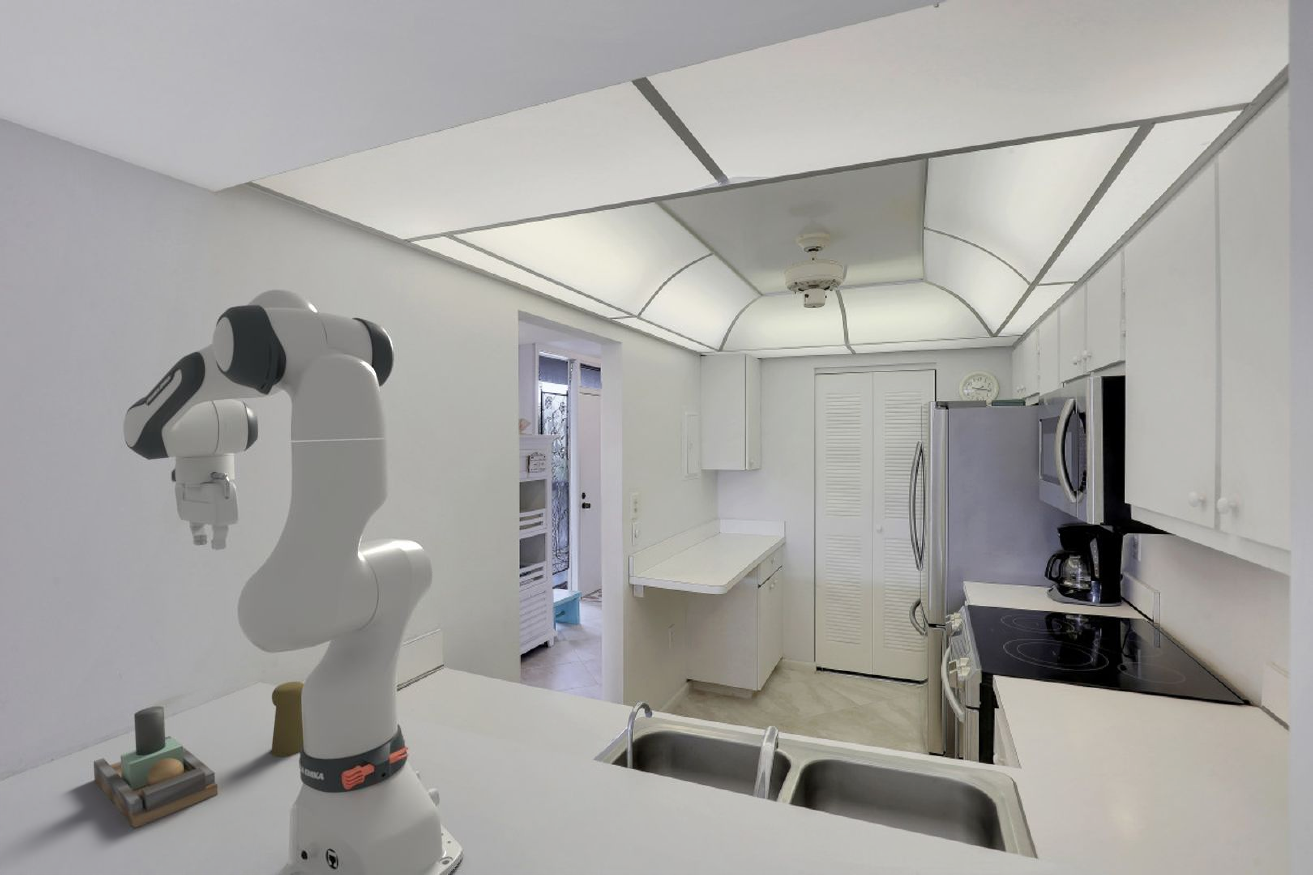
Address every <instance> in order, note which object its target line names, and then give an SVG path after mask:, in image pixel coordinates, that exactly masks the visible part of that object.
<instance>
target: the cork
mask: <svg viewBox="0 0 1313 875" xmlns="http://www.w3.org/2000/svg"><path fill="white" fill-rule="evenodd" d="M303 686H304V683H303V682H301V681H289V682H285V683H282V684H280V685H278V686H277V687H275V688H274V689H273V690H272V694H271V701H272V705H274V706H275V713H274V721H273V722H274V724H273V732H272V742H271V743H272V744H271V755H272V756H276V757H286V756H292V755H295V754H298V753H299V754H300V750H301V747H302V746H303V722H302V699H301V695H302V689H303Z"/></svg>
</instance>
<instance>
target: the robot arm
mask: <svg viewBox="0 0 1313 875" xmlns="http://www.w3.org/2000/svg"><path fill="white" fill-rule="evenodd" d="M211 342H212V343H211V344H208V345H207V346H205V347H204V348H201V349H199V350H197V351H194V352H192V353H189V354H187V355H185V356H183V357H182V358H180V359H179V360H178V361H177V362H176V363H175V364H174V365H173V366H172V367H171V368H170V370H169V371H168V372H167V373H166V374H164V376H163V377H162V378H161V379H160V380H159V381H158V383H157V384H156V385H155V386H154V387H153V388H152V389H151V391H149V392H148V393H147V395H145V396H144V397H142V398H140V399H139V400H138V401H136V402H135V403H133V404H132V405H131V406H130V407H129V408H128V409H127V411H126V414H125V416H124V419H123V420H124V421H123V426H122V428H123V436H124V441H125V444H126V446H127V447H128V449H131V451H132V452H134V453H136V454H137V455H138V456H140V457H142V458H144V459H147V460H148V461H151V460H158V459H159V460H160V459H166V458H167V459H168V458H173V457H175V458H174V459H175V467H174V468H173V469H172V470H171V471H170V481H171V482H172V483H175V484H174V494H175V501H176V509H177V510H176V511H177V514H178V516H179V519H180V520H182V521H186V522H189V529H190V531H191V534H192V541H193V543H192V544H194V546H204V545H207V543H208V536H207V535H208V534H206V530H205V526H206V525H210V526H211V531H212V532H213V533H212V534H213V535H212V539H211V540H210V541H211V542H210V543H211V549H213V550H215V551H218V550H219V551H220V550H225V549H226V547H227V544H226V543H227V536H228V532H229V526H231V525H236V524H238V523H239V520H240V510H239V499H238V492H237V487H236V485H235V483H234V482H232V481H234V480H235V479H236V473H235V456H234V454H237V453H241V452H245V451H247V450H248V449H250V448H251V447H252V446H253V445H254V444H255V442H257V440H258V437H259V426H258V425H259V423H258V415H257V412H256V411H255V410H254V409H253V408H252V407H251V406H250V405H248V404H247V403H245V402H244V401H239V400H236V399H255V398H264V397H269V396H272V395H275V394H278V393H280V392H281V391H284V392H286V393H287V394H288V396H289V398H290V400H291V401H290V402H291V415H290V416H291V417H290V419H291V420H290V423H291V424H290V441H292V442H291V443H290V445H291V446H290V447H291V450H290V451H291V492H290V493H291V497H290V503H289V509H288V510H289V511H288V515H287V518H286V522H285V524H284V527H283V529H282V532H281V534H280V536H279V539H278V540H277V543H276V545H275V547H274V548H273V551H272V552H271V553H270V555H269V556H268V558H267V559H266V560H265V561H264V563H263V564H262V565H261V566H260V567H259V569H257V571H255V573H254V574H252V575H251V576H250V577H249V578H248V579H247V581H246V582H245V583H244V586H243V587H242V590H241V592H240V595H239V597H238V602H237V618H238V623H239V626H240V628H241V629H240V630H242V633H243V634H244V636H245V637H246V638H247V640H248V641H249V642H250V643H251V644H252V645H253V646H255V647H256V648H258V649H259V650H261V651H264V652H266V653H268V654H269V653H270V654H271V653H272V654H273V653H274V654H275V653H282V652H292V651H297V650H303V649H309V648H315V647H317V646H319V645H322V644H324V643H327V642H329V641H330V642H329V643H328V646H327V649H326V651H325V653H324V655H323V657H321V660H320V661H319V662H318V664H317V665H316V666H315V667H314V668H313V669H312V671H310V673H309V675H307V678H306V679H305V681H304V683H303V684H304V686H303V689H302V695H301V699H302V722H303V746H302V747H301V750H300V752H299V760H298V768H299V771H300V776H299V777H300V780H301V782H302V784H301V788H300V790H299V793H298V796H297V797H296V799H295V801H294V803H293V804H292V807H291V808H290V812H289V831H288V832H289V835H288V863H287V865H286V866H284V868H283V869H282V870H281V871H280V872H279V873H278V875H447V874H449V873H450V872H451V871H452V870H453V869H454V870H455V869H456V868H457V867H456V866H458V865H459V864H460V863H459V862H461V861H462V859H463V857H464V851H463V847H462V846H461V845H460V843H459V842H458V841H457V840H456V839H455V838H454V836H452V835H451V833H449V831H448V830H447V829H446V828H445V827H444V826H443V825H442V824H441V819H440V818H441V817H440V813H439V810H438V808H437V807H438V806H439V805H440V794H439V792H438V790H437V788H435V787H431V788H429V789H427V790H426V788H425V787H424V785H423V783H422V782H421V774H420V772H419V771H418V770H415V771H414V770H413V768H412V767H411V765H410V763H409V761H407V760H408V756H409V754H408V752H407V751H408V750H409V747H408V746H406V745H405V744H406V739H405V737H404V735H403V732H402V729H401V726H400V724H399V723H398V685H397V684H398V670H399V669H398V668H399V661H400V656H401V652H402V649H403V645H404V641H405V638H406V634H407V631H408V628H409V625H410V624H411V620H412V618H413V616H414V614H415V612H416V610H417V608H418V606H419V605H420V604H421V602H422V600H424V598H425V597H426V596H427V594H428V592H429V590H430V588H431V584H432V582H433V567H432V563H431V560H430V558H429V556H428V554H427V552H426V551H425V549H424V548H423V547H422V546H421V545H420V544H419V543H417V542H415V541H413V540H411V539H404V538H403V539H401V538H376V539H372V540H367V541H363V542H361V540H362V537H363V533H364V530H365V528H366V526H367V524H368V522H369V521H370V519H371V518H372V517H373V515H375V513H376V512H377V511H378V510H379V509H380V508H381V507H382V506H383V504H384V503H385V501H386V500H387V497H388V494H389V476H388V475H389V474H388V448H387V446H388V445H387V428H386V427H387V425H386V418H385V417H386V416H385V410H384V409H385V408H384V402H383V397H382V393H381V387H382V386H383V385H384V384H385V383H386V382H387V380H388V379H389V377H390V375H391V373H392V370H393V368H394V361H395V354H394V353H395V352H394V346H393V342H392V340H391V337H390V336H389V335H388V333H387V331H386V329H385V328H384V327H382V326H381V325H379V324H377V323H376V322H372V321H370V320H367V319H363V318H360V317H352V318H350V317H346V316H341V315H336V314H332V313H325V312H321V311H320V312H319V311H317V309H316V308H315V306H314V305H313V304H312V303H311V302H310V301H309V300H307V299H306V298H305V297H304V296H302V295H300V294H298V293H296V292H294V291H291V290H286V289H270V290H266V291H264V292H262V293H259V294H258V295H257V296H255V297H254V298H252V300H251V301H250V302H248V304H246V305H245V304H244V305H237V306H232V307H229V308H227V309H226V310H225V311H224V312H223V313H222V314H221V315H220V316H219V318H218V319H217V321H216V324H215V329H214V332H213V335H212V341H211ZM460 860H461V861H460ZM458 863H459V864H458ZM457 864H458V865H457ZM455 867H456V868H455ZM454 870H453V871H454ZM453 871H452V872H453ZM452 872H451V873H452ZM451 873H450V874H451ZM450 874H449V875H450Z"/></svg>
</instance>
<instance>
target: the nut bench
mask: <svg viewBox="0 0 1313 875" xmlns="http://www.w3.org/2000/svg"><path fill="white" fill-rule="evenodd" d="M169 738H173V737H171V735H169V736H168V735H167V736H165V740H166V739H169ZM183 762H184V773H183V774H181V775H178V776H176V777H173V778H170V779H168V780H165V781H162V782H160V783H157V784H155V785H152V786H148V785H145V786H143V787H140V788H137V789H135V790H132V789H131V788H130V787H129V785H128V784H127V783H126V782H125V781H124V780H123V779H122V776H121V761H118V762H115V763H112V764H109V762H108V761H107V760H106V759H105V758H99V759H96V760H93V776H94V781H95V782H96V783H97V785H98V786H99V787H100V789H102V791H103V792H104V793H105V795H106V796H107V797H108V798H109V799H110V800H111V801H112V803H113V804H114V805H115V806H116V808H117V809H118V810H119V811H120V812H121V814H122V815H123V816H124V818H125V819H126V820H127V821H128V823H129V824H130V825H131V826H132V827H133V829H137V828H139V827H141V826H145V825H146V824H149V823H150V822H154V821H156V820H158V819H161V818H163V817H165V816H168V815H171V814H172V813H176V812H178V811H180V810H182V809H185V808H188V807H190V806H192V805H195V804H197V803H199V802H202V801H205V800H207V799H210V798H212V797H214V796H216V795H219V794H218V793H219V791H218V790H219V788H218V783H217V782H216V776H215V775H216V773H215V771H213V770H212V769H211V768H209V767H208V766H207V765H206V764H205V763H204V762H202V761H201V760H200V759H198V758H197V756H195V755H194V754H192V753H191V751H189V750H188V749H187V748H186V747H184V746H183Z"/></svg>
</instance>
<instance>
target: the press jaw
mask: <svg viewBox="0 0 1313 875" xmlns="http://www.w3.org/2000/svg"><path fill="white" fill-rule="evenodd" d="M133 718H134V733H135V734H134V736H135V749H134V750H131V751H128V752H125V753H122V754H120V762H121V776H122V779H123V780H124V781H125V782H126V783H127V784H128V785H129V787H130V788H131V789H132V790H135V789H137V788H140V787H143V786H145V785H148V784H147V775H148V772H149V771H150V769H151V768H152V767H153V766H154V765H155V764H156V763H157V762H159V761H161V760H163V759H167V758H173V759H177V760H179V761H180V762H181V763H182V765H183V767H184V762H183V747H184V746H183V745H182V744H181V743H180V742H179V741H177V740H176V739H175V738H174V737H172V738H169V739H166V740H165V737H166V729H165V728H166V726H165V725H166V724H165V708H164V706H161V705H159V706H151V707H146V708H143V709H140V710H138V711H136V712H135V713H134V717H133Z"/></svg>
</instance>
